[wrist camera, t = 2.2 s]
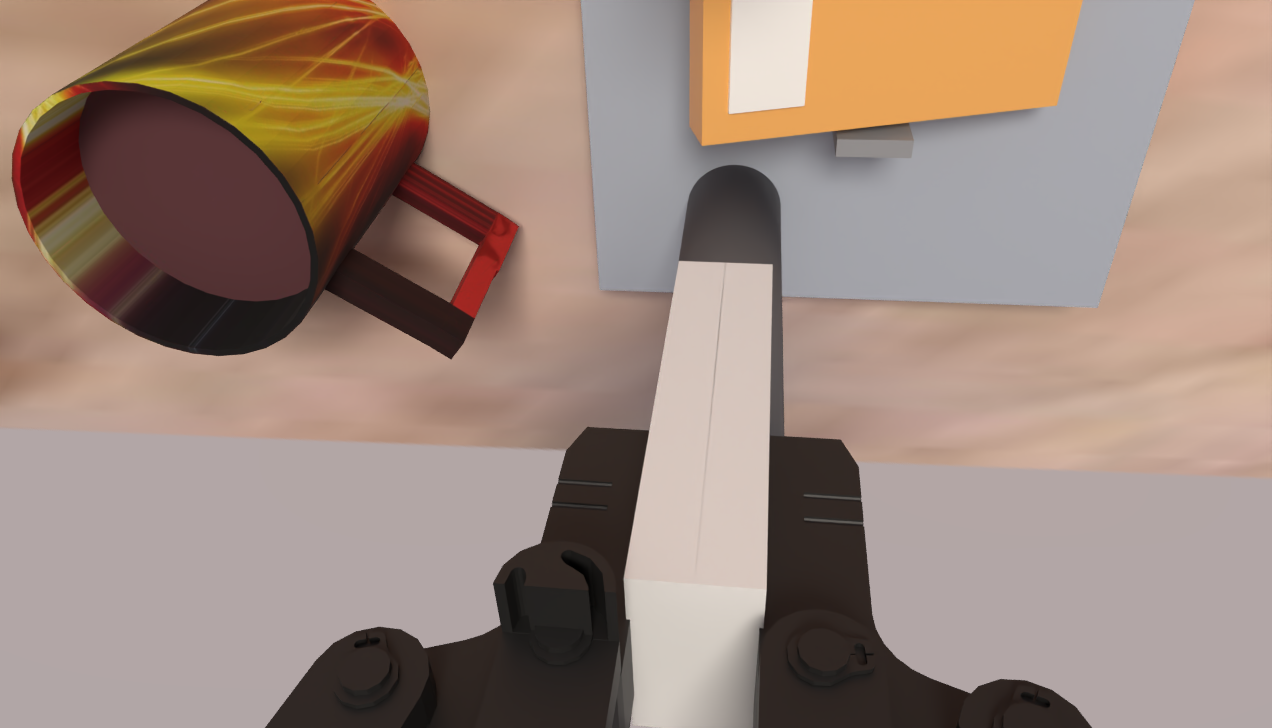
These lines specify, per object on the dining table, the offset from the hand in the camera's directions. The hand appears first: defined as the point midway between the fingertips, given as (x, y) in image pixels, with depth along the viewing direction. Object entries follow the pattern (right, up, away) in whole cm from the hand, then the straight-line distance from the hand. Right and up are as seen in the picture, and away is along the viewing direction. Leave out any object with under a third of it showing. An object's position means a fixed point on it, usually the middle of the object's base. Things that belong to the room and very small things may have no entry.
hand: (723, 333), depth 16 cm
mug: (-13, +11, +23) cm, 28 cm away
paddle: (+6, +10, +13) cm, 17 cm away
